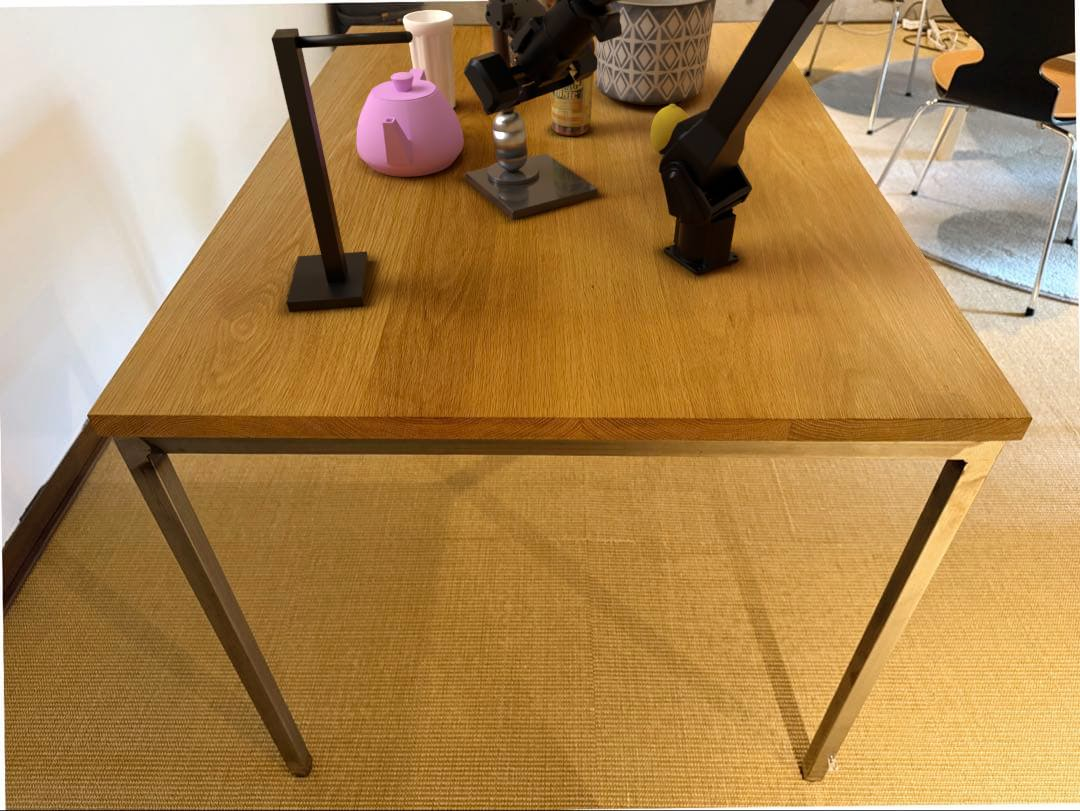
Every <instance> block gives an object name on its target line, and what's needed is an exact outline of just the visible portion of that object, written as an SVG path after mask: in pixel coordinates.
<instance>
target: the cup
mask: <svg viewBox="0 0 1080 811" xmlns="http://www.w3.org/2000/svg"><path fill="white" fill-rule="evenodd" d="M402 23H403V27H404V29H405V31H409V32H411V33H412V35H413V40H412V41H411V42H410V43H408V45H409V51H410V57H411V58H410V59H411V63H412V69H424V71H425V75H426V80H427V81H429V82H431V83H433V84H434V85H436V87H437V88H438V89H439V90H440V91H441V92H442V94H443V95H444V96H445V98H446V99H447V101H448V102H449V103H450V105H451V106H452V108H453V109H454V108H455V107H456V86H455V84H456V83H455V64H454V42H453V41H454V40H453V39H454V38H453V28H454V15H453V13H451V12H449V11H445V10H439V9H426V10H418V11H412V12H410V13H407V14H405V15H404V16H403V18H402Z"/></svg>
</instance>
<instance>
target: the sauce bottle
mask: <svg viewBox="0 0 1080 811" xmlns="http://www.w3.org/2000/svg"><path fill="white" fill-rule="evenodd" d="M589 45H590V47H591V48H592V50H593V52H594V53H596V42H595V40H594V37H593V38H592V40H591V41H590V42H589ZM569 67H571V69H572V70H571V71H570V74H571V75H572V77H573V76H574V75H575V74H576V73H577V71H576V69H575V67H574V66H573V64H572V65H571V66H569ZM594 75H595V72H594V73H593V74H592V75H591V76H590V77H589V78H586V79H584V80H581V81H578V82H576V81H575V79H574V77H573V79H574V83H573V84H572V85H570V86H567V87H565V88H562V89H559V90H557V91H554V92H551V114H550V115H551V116H550V118H551V121H552V122H551V127H552V131H553V132H555V133H556V134H558V135H560V136H561V135H562V136H570V137H579V136H582V135H583V134H586V133H587V132H588V131H589V130H590V123H591V122H592V108H593V91H594V77H595V76H594Z"/></svg>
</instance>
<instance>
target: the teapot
mask: <svg viewBox="0 0 1080 811" xmlns="http://www.w3.org/2000/svg"><path fill="white" fill-rule="evenodd" d="M355 140H356V150H357V154H358V155H359V157H360V159H361V160H363V161H364V163H366V165H368V166H369V167H370V168H371V169H373V170H374V171H376V172H378V173H380V174H382V175H386V176H391V177H401V178H402V177H403V178H406V177H421V176H427V175H431V174H435V173H438V172H440V171H443V170H445V169H447V168H449V167H450V166H451V165H453V163H454V162H455V160H456V159H457V158H458V157H459V155H460V154H461V153H462V151H463V148H464V144H465V139H464V132H463V129H462V124H461V122H460V120H459V117H458V115H457V112H456V111H455V109H454V108H452V106H451V105H450V103H449V102H448V101H447V99H446V98H445V96H444V95H443V94H442V92H441V91H440V90H439V89H438V88H437V87H436V85H434V84H433V83H431V82H429V81H427V80H426V75H425V71H424V69H413V68H410V69H409V71H408V72H407V71H400V72H396V73H393V74H391V76H390V80H388V81H384V82H382V83H379V84H377V85H376V86H374V87H373V88H372V89H371V90H370V92H369V94H368V96H367V98H366V100H365V102H364V104H363V106H362V109H361V112H360V115H359V119H358V121H357V127H356V138H355Z"/></svg>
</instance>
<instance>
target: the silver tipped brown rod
mask: <svg viewBox="0 0 1080 811" xmlns="http://www.w3.org/2000/svg"><path fill="white" fill-rule="evenodd" d="M487 1H488V3H490V2H491V0H487ZM490 28H491V29H490V30H491V39H492V48H493V52H495V53H499V54H500V55H501V57H502V58H503V60H504V62H505V63H506V65H507V67H508V68H510V67H512V64H511V62H510V51H509V36H508V35H507V34H506V33H505V32H504V31H503V30H502V31H499V32H497V31H496V30H495V29H494V28H493V27H492V26H491V25H490ZM526 127H527V126H526V122H525V120H524V117H523V115H522V114H520V113H519V112H518V111H516V106H514V107H512V108H509V109H506V110H503V111H500V112H498V114H497V115H495V117H494V119H493V122H492V134H493V143H494V144H493V145H494V151H495V159H496V161H497V162H498V163H499V165H500V166H501V167H502V168H504V169H505V170H508V171H516V170H518V169H520V168H522V167H523V166H524V164H525V163H526V161H527V158H528V157H529V152H528V141H527V129H526ZM497 162H496V163H497Z"/></svg>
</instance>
